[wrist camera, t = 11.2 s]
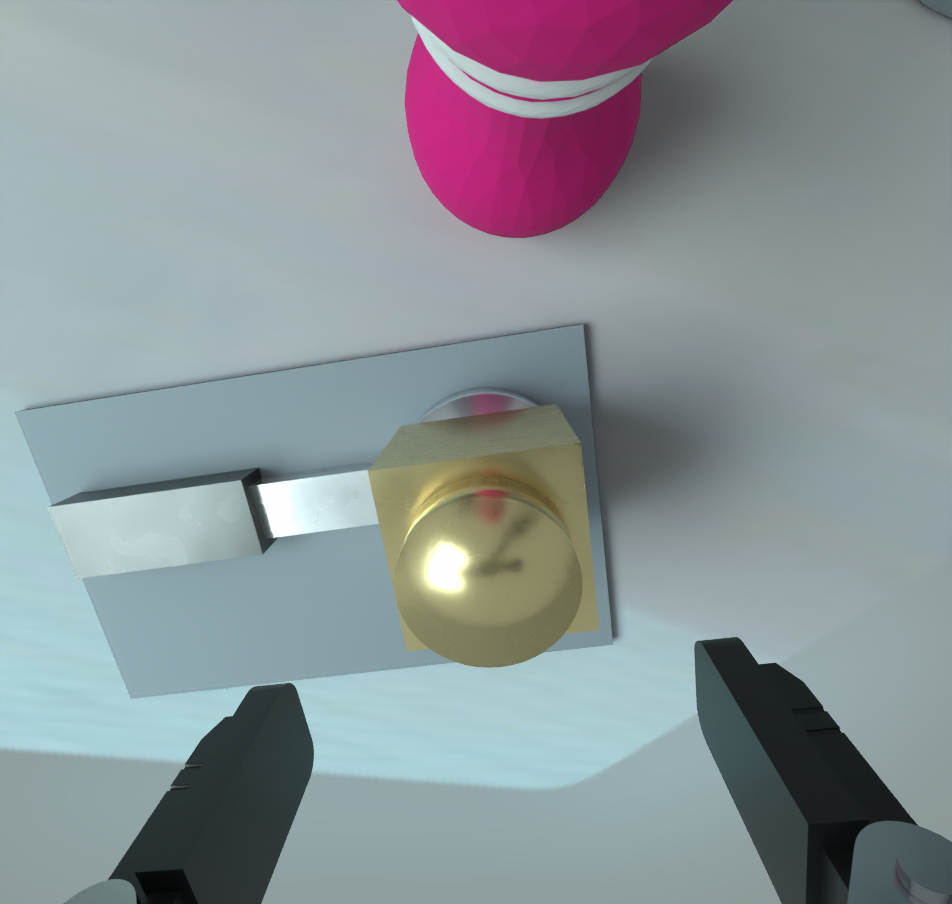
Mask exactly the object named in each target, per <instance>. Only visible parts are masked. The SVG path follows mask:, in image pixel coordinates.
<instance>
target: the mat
mask: <svg viewBox="0 0 952 904" xmlns="http://www.w3.org/2000/svg"><path fill="white" fill-rule="evenodd" d="M480 387H495V388H503V389H508V390H512V391H515V392H518V393H521V394H523V395H525V396H527V397H529V398H531V399H533V400H535V401H536V402H538V403H539V404H541V405H542V406H543V405H550V404H556V405H557V406H558V408H559V409H560V411H561V412H562V414H563V416H564V417H565V419H566V420H567V422H568V423H569V425H570V426H571V428H572V429H573V431H574V433H575V434H576V436H577V437H578V439H579V440H580V442H581V449H582V459H583V469H584V479H585V489H586V499H587V510H588V520H589V530H590V540H591V550H592V561H593V571H594V581H595V591H596V601H597V611H598V622H599V630H595V631H586V632H577V633H568V634H564V635H563V636H562V637H561V638H560V639H559V640H558V641H557V642H556V643H555V644H554V645H553V646H551V647H550V648H549V649H547V650H546V651H544V652H551V651H560V650H569V649H578V648H586V647H595V646H604V645H613V639H612V628H611V617H610V606H609V596H608V585H607V574H606V563H605V553H604V542H603V531H602V521H601V510H600V499H599V488H598V478H597V467H596V456H595V445H594V435H593V424H592V413H591V402H590V392H589V381H588V370H587V360H586V349H585V338H584V327H583V324H578V325H572V326H565V327H559V328H552V329H546V330H539V331H533V332H526V333H520V334H513V335H507V336H501V337H494V338H488V339H481V340H475V341H468V342H462V343H455V344H449V345H442V346H436V347H429V348H423V349H416V350H410V351H403V352H397V353H391V354H384V355H378V356H371V357H365V358H358V359H352V360H345V361H339V362H332V363H326V364H319V365H313V366H306V367H300V368H293V369H287V370H281V371H274V372H268V373H261V374H255V375H248V376H242V377H235V378H229V379H222V380H216V381H209V382H203V383H196V384H190V385H183V386H177V387H171V388H164V389H158V390H151V391H145V392H138V393H132V394H125V395H119V396H112V397H106V398H99V399H93V400H86V401H80V402H73V403H67V404H61V405H54V406H48V407H41V408H35V409H28V410H22V411H18V412H15V415H16V417H17V419H18V422H19V424H20V427H21V429H22V432H23V434H24V437H25V439H26V442H27V444H28V447H29V449H30V451H31V454H32V456H33V459H34V461H35V464H36V466H37V469H38V471H39V474H40V476H41V479H42V481H43V483H44V486H45V488H46V491H47V493H48V496H49V498H50V501H51V503H52V505H53V504H56V503H58V502H60V501H62V500H64V499H66V498H69V497H71V496H73V495H75V494H77V493H82V492H89V491H96V490H103V489H110V488H117V487H124V486H131V485H138V484H145V483H152V482H159V481H166V480H173V479H180V478H187V477H195V476H202V475H209V474H216V473H223V472H230V471H237V470H244V469H251V468H258V467H259V470H260V473H261V477H268V476H275V475H282V474H290V473H297V472H304V471H311V470H318V469H325V468H332V467H339V466H347V465H354V464H361V463H368V462H375V461H376V459H377V458H378V457H379V455H380V454H381V452H382V451H383V450H384V448H385V447H386V446H387V444H388V443H389V441H390V440H391V439H392V437H393V436H394V434H395V433H396V432H397V430H398V429H399V428H400V426H403V425H410V424H416V422H417V421H418V420H419V419H420V417H421V416H422V415H423V414H424V413H425V412H426V411H427V410H428V409H429V408H430V407H431V406H433V405H434V404H436V403H437V402H439V401H440V400H442V399H444V398H445V397H447V396H449V395H451V394H454V393H457V392H460V391H462V390H467V389H472V388H480ZM82 579H83V582H84V584H85V587H86V589H87V592H88V594H89V597H90V599H91V602H92V604H93V606H94V609H95V611H96V614H97V616H98V619H99V621H100V624H101V626H102V629H103V631H104V634H105V636H106V638H107V641H108V643H109V646H110V648H111V651H112V653H113V656H114V658H115V661H116V663H117V666H118V668H119V670H120V673H121V675H122V678H123V680H124V683H125V685H126V688H127V690H128V693H129V695H130V698H131V699H132V698H141V697H150V696H159V695H168V694H177V693H186V692H195V691H204V690H212V689H221V688H230V687H239V686H248V685H257V684H266V683H275V682H284V681H293V680H301V679H310V678H319V677H328V676H337V675H346V674H355V673H364V672H373V671H382V670H391V669H399V668H408V667H417V666H426V665H435V664H444V663H453V662H454V661H452V660H449V659H447V658H445V657H443V656H441V655H439V654H437V653H435V652H434V651H432V650H431V649H426V650H417V651H408V652H407V649H406V644H405V640H404V635H403V631H402V626H401V622H400V617H399V613H398V608H397V603H396V599H395V594H394V590H393V585H392V581H391V576H390V572H389V567H388V563H387V558H386V553H385V549H384V544H383V540H382V535H381V531H380V526H379V524H374V525H366V526H359V527H351V528H344V529H336V530H328V531H321V532H313V533H306V534H298V535H291V536H283V537H278V538H277V540H276V541H275V542H274V543H273V544H272V545H271V546H270V547H269V548H268V550H267V551H266V552H265V553H264V554H263V555H256V556H249V557H241V558H233V559H226V560H218V561H210V562H202V563H195V564H187V565H179V566H172V567H164V568H156V569H149V570H141V571H133V572H125V573H118V574H110V575H102V576H95V577H87V578H82Z"/></svg>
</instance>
